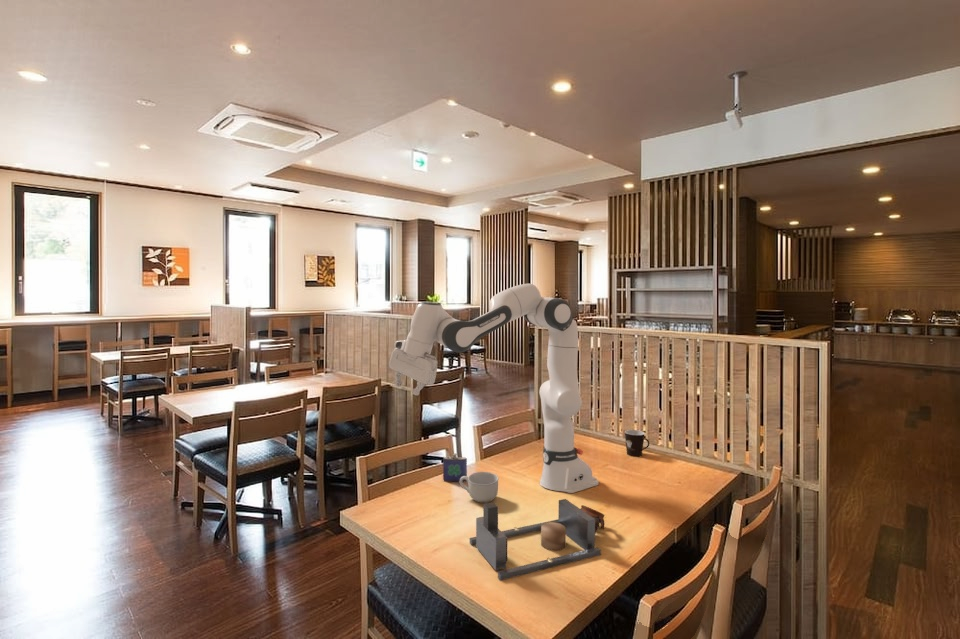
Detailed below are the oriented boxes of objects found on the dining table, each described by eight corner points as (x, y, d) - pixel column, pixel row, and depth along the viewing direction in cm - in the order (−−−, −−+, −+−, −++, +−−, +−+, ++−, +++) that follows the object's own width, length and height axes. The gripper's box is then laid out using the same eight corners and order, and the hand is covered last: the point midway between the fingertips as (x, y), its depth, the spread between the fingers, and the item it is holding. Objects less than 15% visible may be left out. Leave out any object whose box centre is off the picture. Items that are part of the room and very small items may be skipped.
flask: (467, 479, 194) (467, 452, 193) (466, 482, 191) (466, 455, 190) (443, 479, 194) (443, 452, 194) (442, 482, 191) (442, 454, 191)
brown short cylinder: (557, 536, 149) (557, 520, 148) (570, 547, 142) (570, 530, 142) (536, 541, 146) (536, 524, 145) (549, 553, 139) (549, 535, 139)
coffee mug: (621, 451, 228) (621, 430, 227) (639, 450, 229) (639, 429, 228) (631, 460, 216) (632, 437, 216) (650, 459, 217) (651, 436, 217)
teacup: (503, 496, 178) (503, 474, 178) (490, 508, 168) (491, 484, 168) (468, 489, 184) (468, 468, 183) (454, 500, 174) (454, 478, 174)
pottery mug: (565, 527, 156) (574, 501, 158) (591, 538, 157) (600, 513, 159) (581, 535, 144) (590, 507, 146) (609, 547, 145) (618, 520, 147)
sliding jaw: (487, 544, 143) (487, 495, 142) (508, 567, 131) (508, 513, 130) (476, 547, 141) (476, 497, 141) (495, 570, 129) (495, 516, 129)
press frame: (560, 523, 157) (560, 495, 157) (601, 555, 138) (601, 523, 137) (469, 542, 145) (469, 512, 144) (500, 581, 126) (500, 546, 125)
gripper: (445, 358, 157) (433, 400, 158) (406, 343, 171) (395, 381, 171) (431, 356, 153) (419, 399, 153) (391, 340, 166) (380, 380, 167)
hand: (406, 390), depth 162 cm, fingers open, 8 cm apart
